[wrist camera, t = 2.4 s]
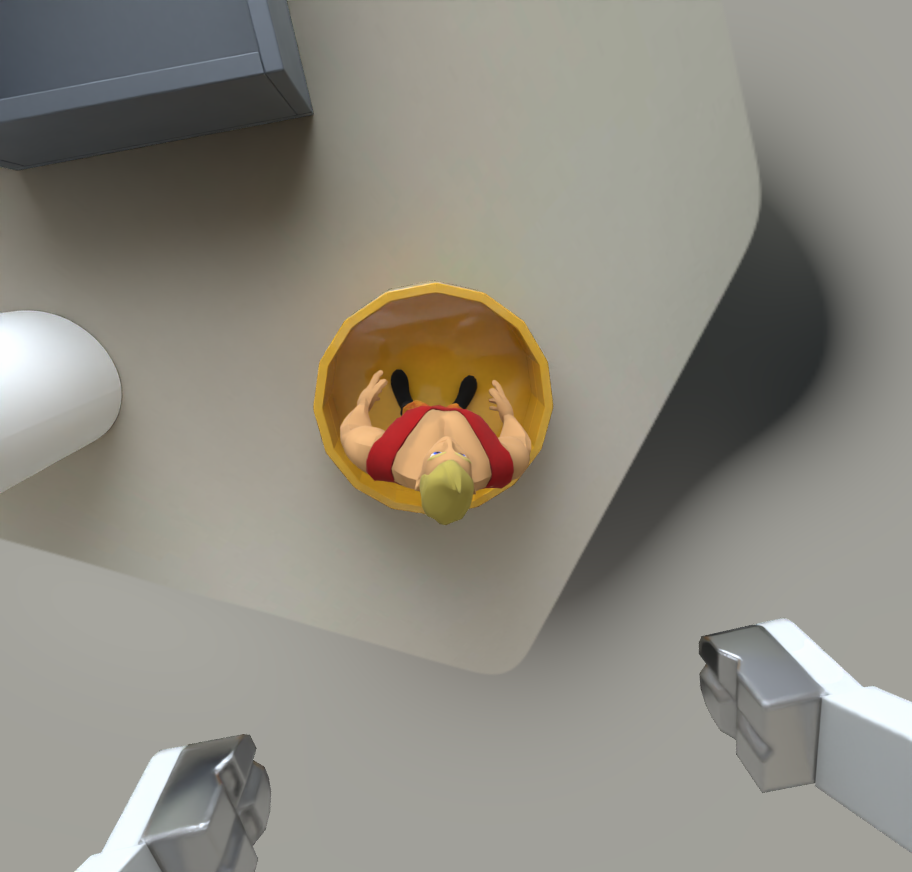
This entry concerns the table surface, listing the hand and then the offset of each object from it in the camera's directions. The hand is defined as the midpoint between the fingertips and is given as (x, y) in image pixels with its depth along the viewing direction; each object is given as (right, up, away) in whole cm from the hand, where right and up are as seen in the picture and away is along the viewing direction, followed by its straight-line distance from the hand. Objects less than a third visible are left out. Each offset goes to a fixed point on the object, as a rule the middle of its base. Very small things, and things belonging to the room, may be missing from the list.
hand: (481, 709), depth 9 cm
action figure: (-2, +8, +22) cm, 24 cm away
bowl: (-2, +8, +23) cm, 24 cm away
